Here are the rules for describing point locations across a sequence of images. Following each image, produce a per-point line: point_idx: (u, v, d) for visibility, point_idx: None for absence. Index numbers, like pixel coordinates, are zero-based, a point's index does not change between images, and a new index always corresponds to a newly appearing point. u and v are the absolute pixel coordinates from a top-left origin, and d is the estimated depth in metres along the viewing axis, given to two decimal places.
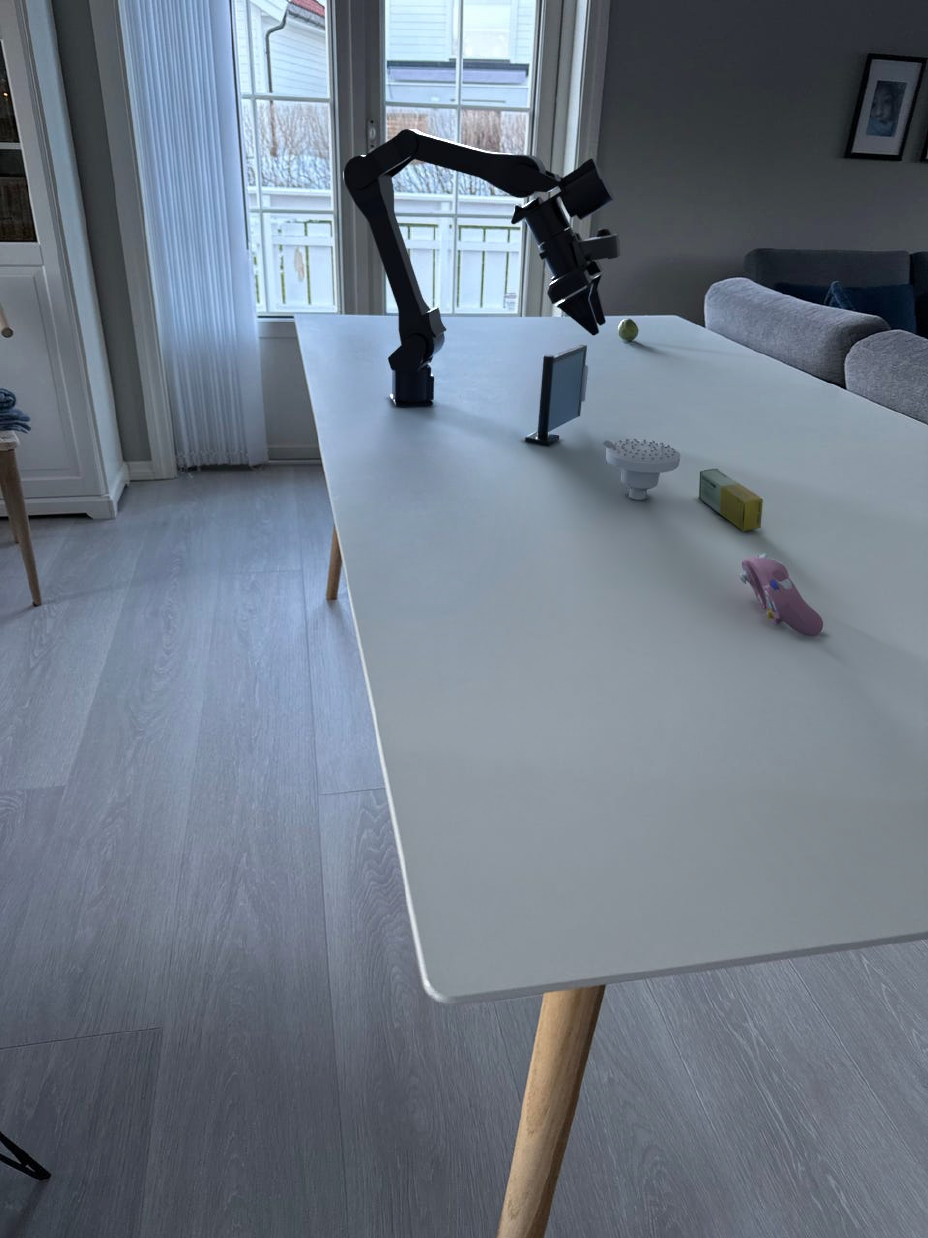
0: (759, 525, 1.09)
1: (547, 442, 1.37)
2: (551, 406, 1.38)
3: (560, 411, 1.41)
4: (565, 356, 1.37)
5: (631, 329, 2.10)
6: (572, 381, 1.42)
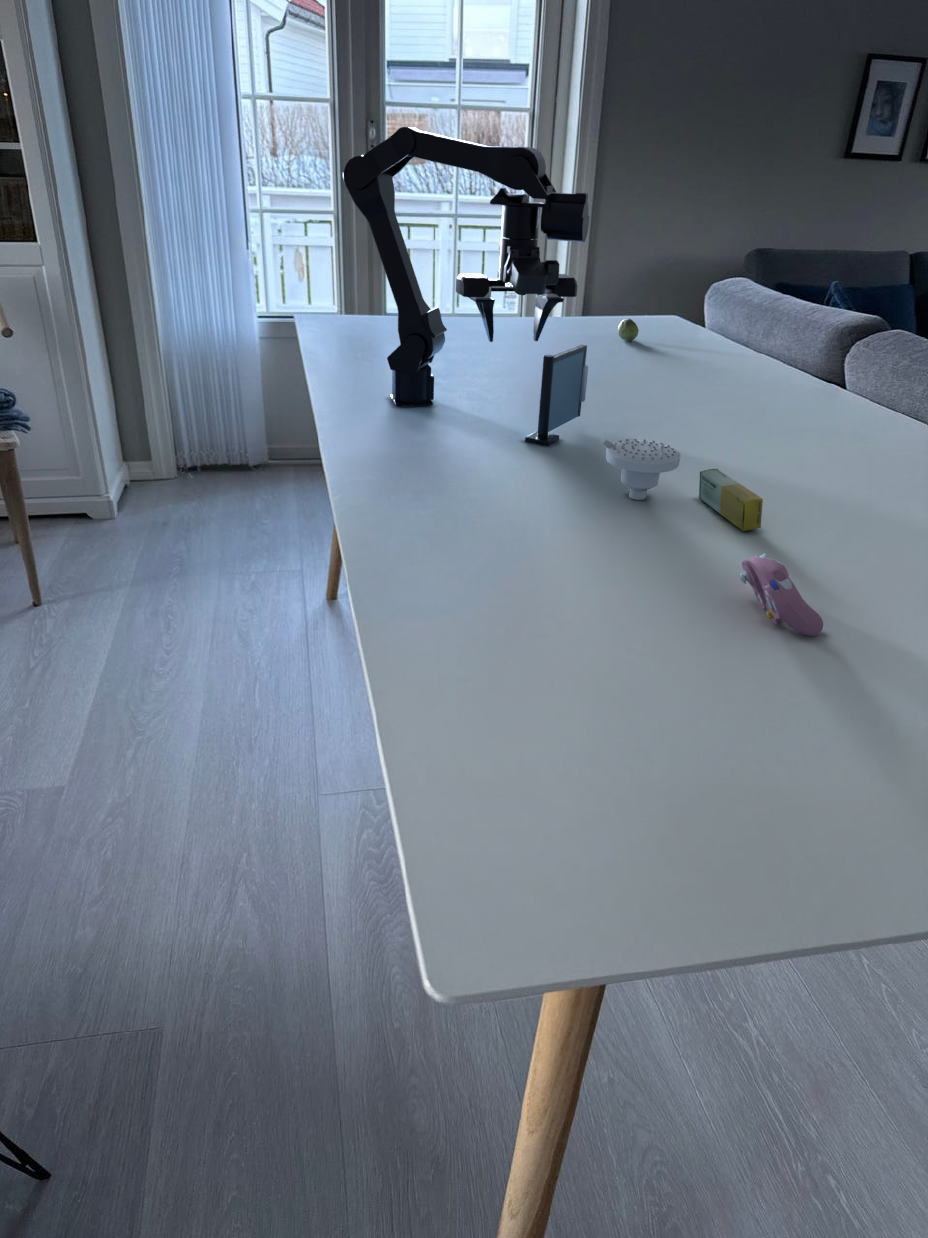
0: (759, 525, 1.09)
1: (547, 442, 1.37)
2: (551, 406, 1.38)
3: (560, 411, 1.41)
4: (565, 356, 1.37)
5: (631, 329, 2.10)
6: (572, 381, 1.42)
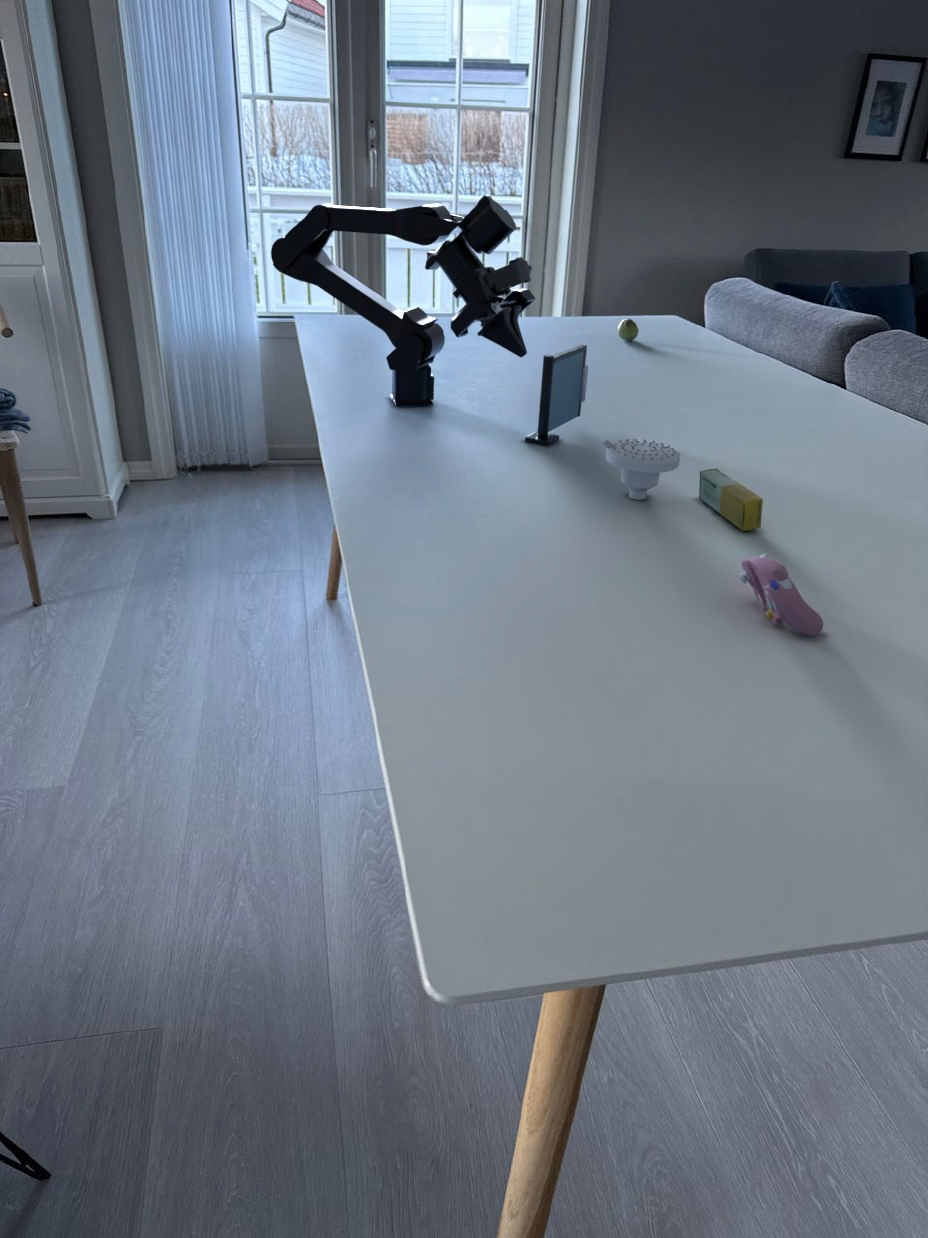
0: (759, 525, 1.09)
1: (547, 442, 1.37)
2: (551, 406, 1.38)
3: (560, 411, 1.41)
4: (565, 356, 1.37)
5: (631, 329, 2.10)
6: (572, 381, 1.42)
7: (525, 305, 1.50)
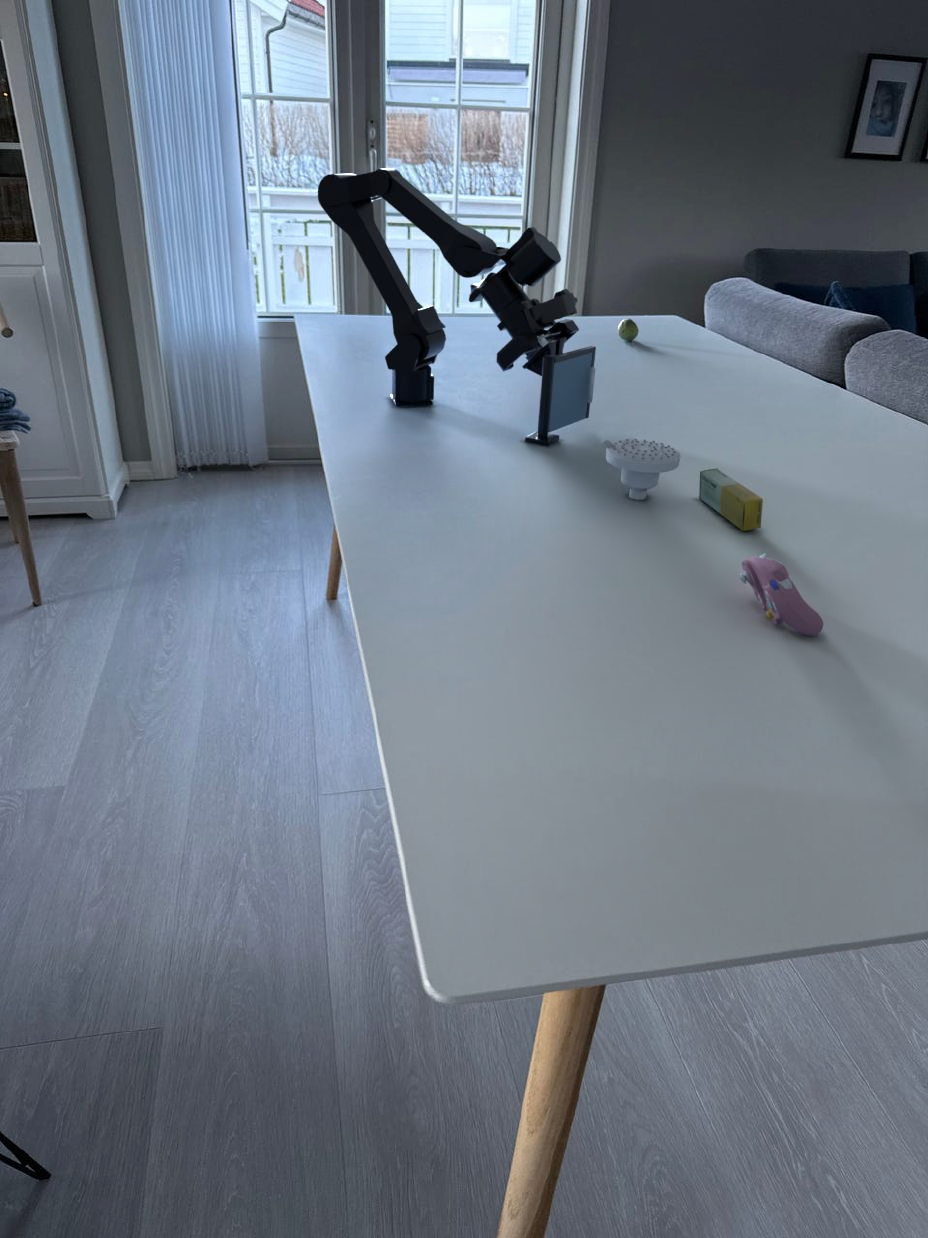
0: (759, 525, 1.09)
1: (547, 442, 1.37)
2: (552, 406, 1.38)
3: (563, 412, 1.41)
4: (568, 357, 1.37)
5: (631, 329, 2.10)
6: (578, 382, 1.42)
7: (568, 336, 1.48)
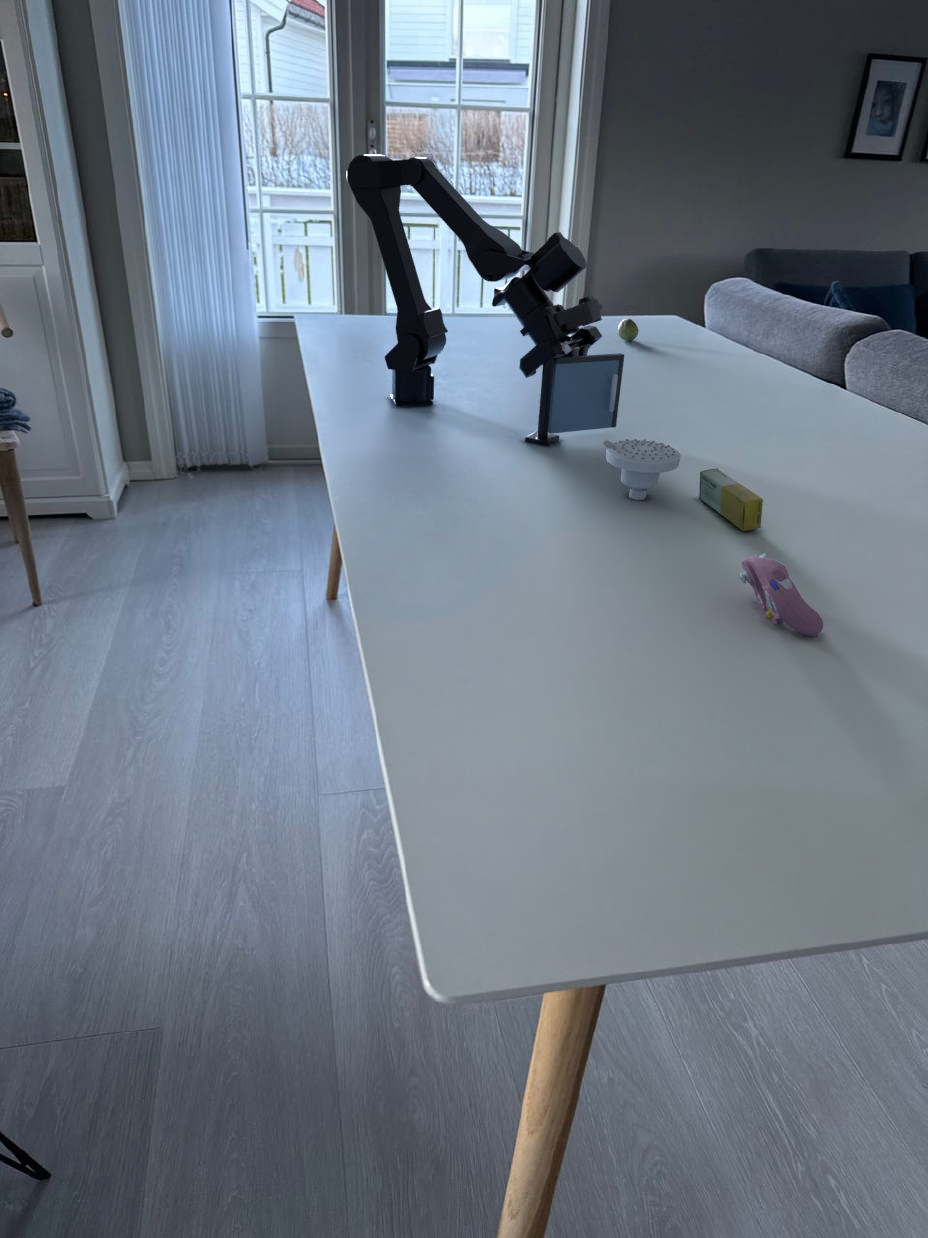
0: (759, 525, 1.09)
1: (547, 442, 1.37)
2: (554, 408, 1.37)
3: (573, 416, 1.39)
4: (578, 360, 1.35)
5: (631, 329, 2.10)
6: (596, 388, 1.39)
7: (591, 342, 1.46)
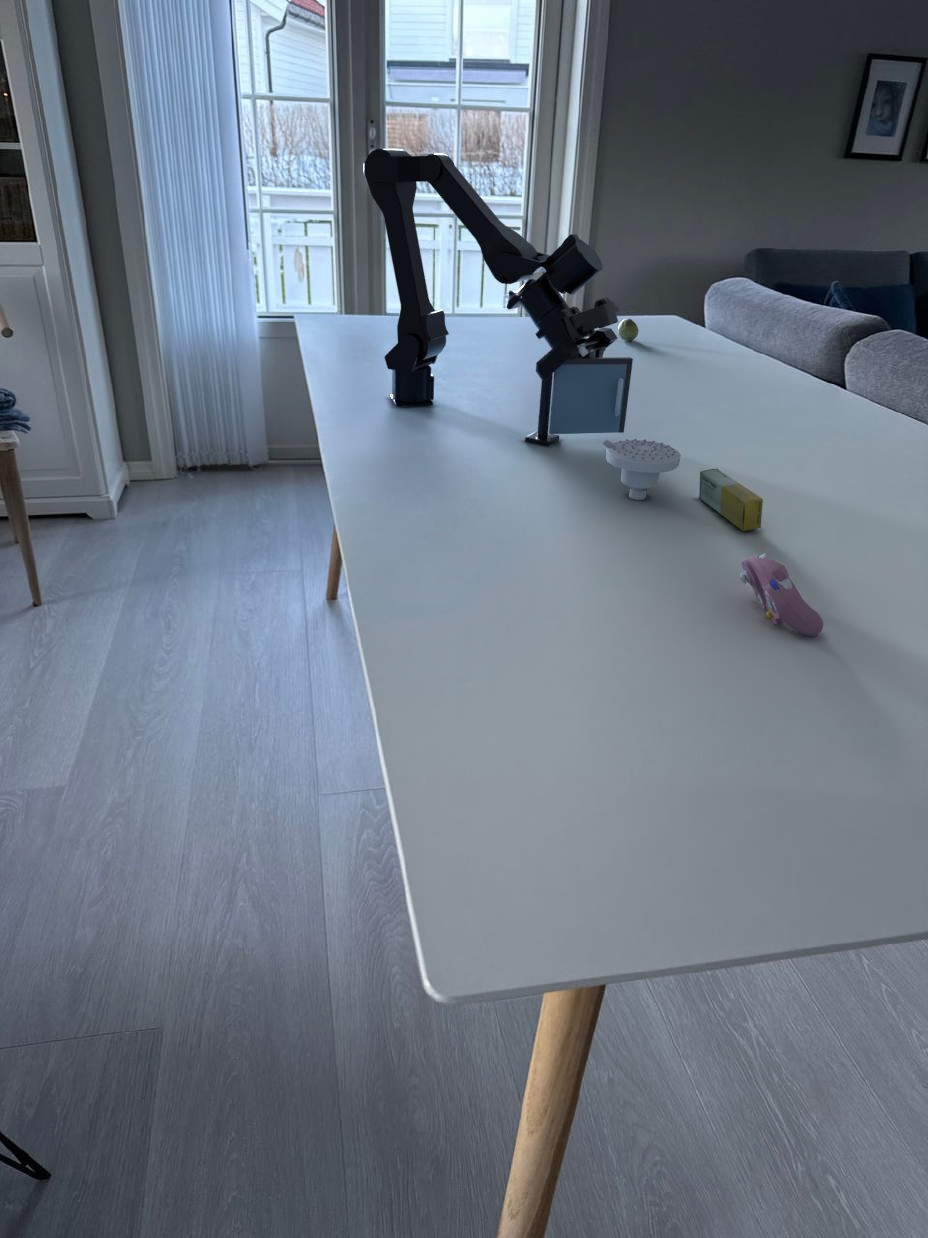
0: (759, 525, 1.09)
1: (547, 442, 1.37)
2: (555, 408, 1.37)
3: (575, 418, 1.38)
4: (581, 362, 1.34)
5: (631, 329, 2.10)
6: (601, 391, 1.37)
7: (606, 344, 1.45)
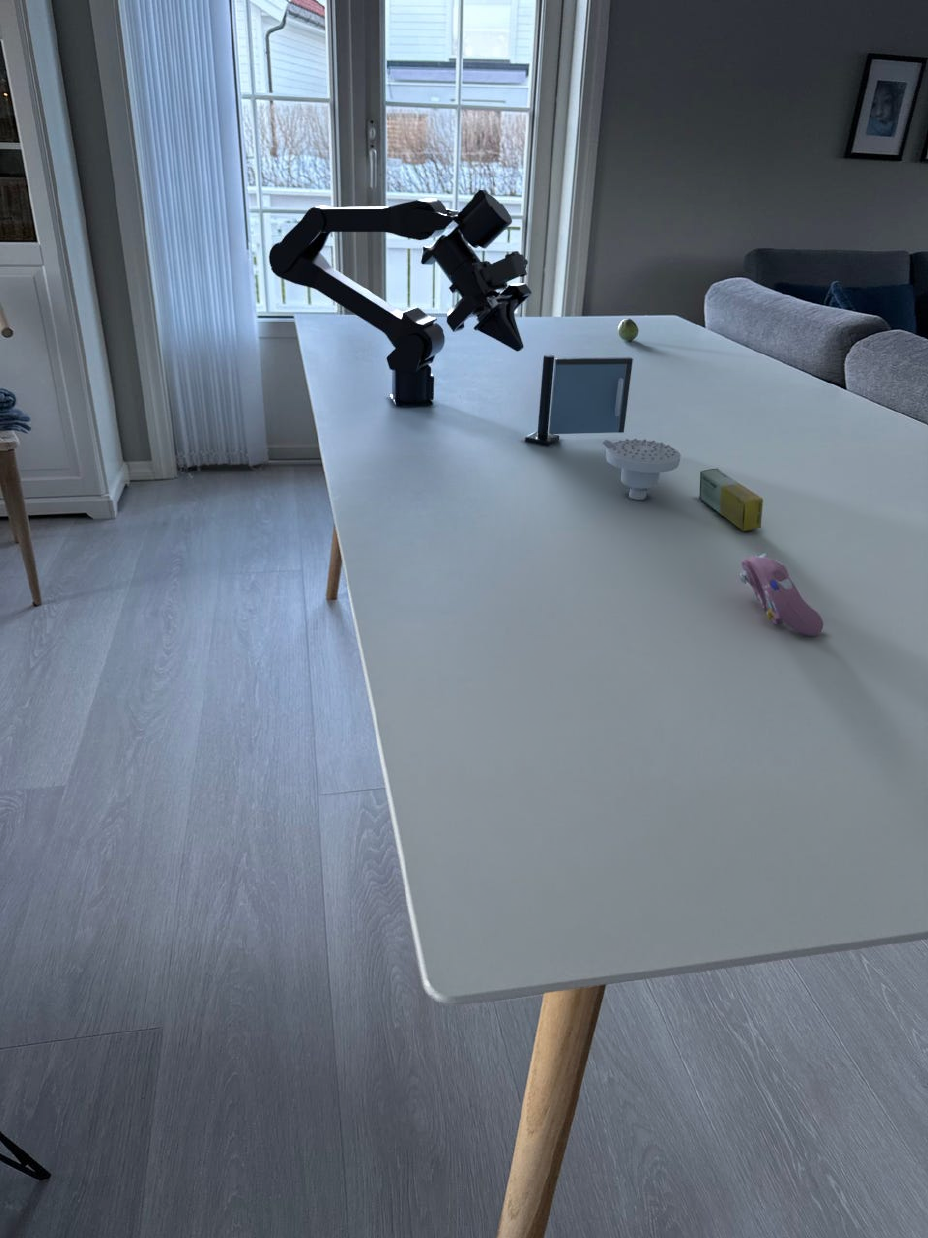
0: (759, 525, 1.09)
1: (547, 442, 1.37)
2: (555, 408, 1.37)
3: (575, 418, 1.38)
4: (581, 362, 1.34)
5: (631, 329, 2.10)
6: (601, 391, 1.37)
7: (522, 299, 1.50)
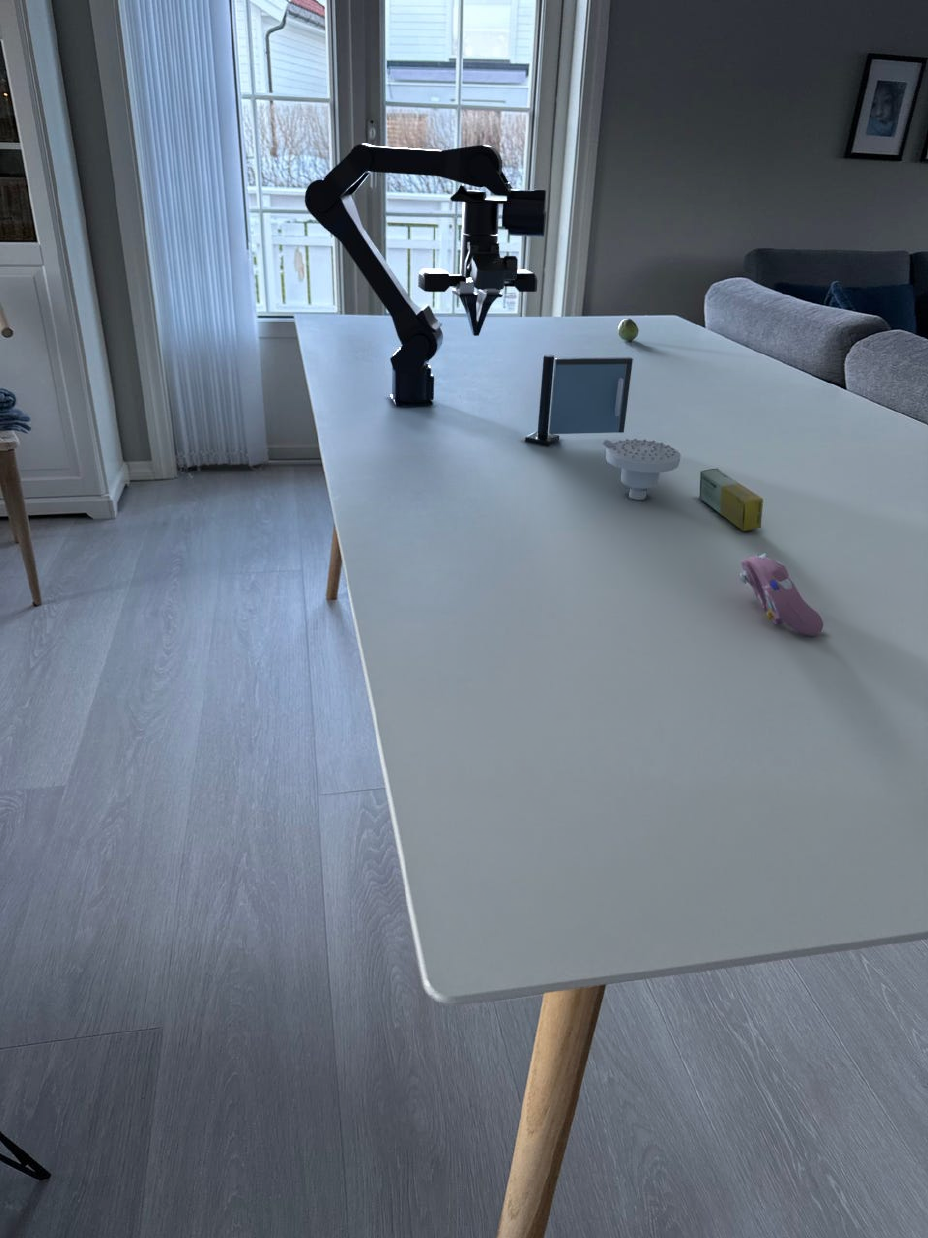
0: (759, 525, 1.09)
1: (547, 442, 1.37)
2: (555, 408, 1.37)
3: (575, 418, 1.38)
4: (581, 362, 1.34)
5: (631, 329, 2.10)
6: (601, 391, 1.37)
7: None
